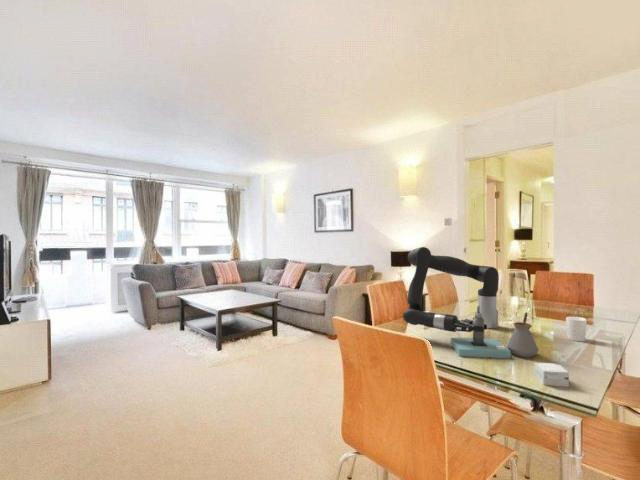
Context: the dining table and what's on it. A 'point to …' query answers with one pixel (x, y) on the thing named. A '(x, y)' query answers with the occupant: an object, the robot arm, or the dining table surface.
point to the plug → (479, 321)
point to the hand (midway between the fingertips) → (485, 328)
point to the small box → (551, 374)
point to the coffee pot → (522, 340)
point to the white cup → (576, 328)
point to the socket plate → (480, 348)
